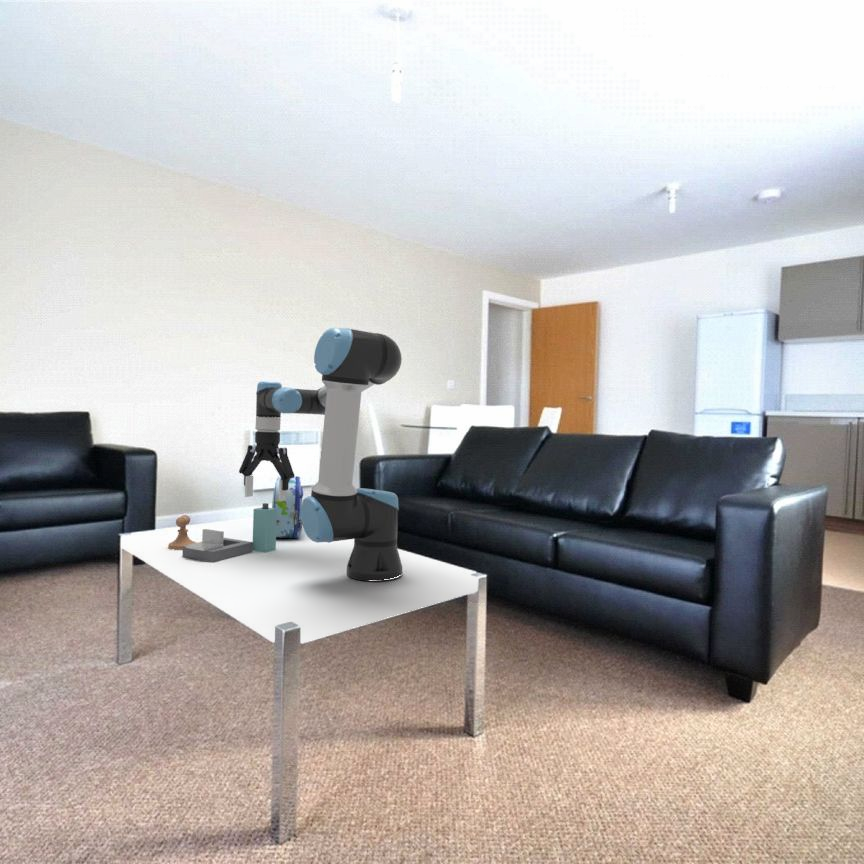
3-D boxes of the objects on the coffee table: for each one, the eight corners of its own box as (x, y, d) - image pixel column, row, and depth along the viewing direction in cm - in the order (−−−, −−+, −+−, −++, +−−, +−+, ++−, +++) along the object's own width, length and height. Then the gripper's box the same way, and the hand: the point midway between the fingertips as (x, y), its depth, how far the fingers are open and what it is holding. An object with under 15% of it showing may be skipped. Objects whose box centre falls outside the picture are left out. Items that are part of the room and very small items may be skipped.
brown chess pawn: (199, 514, 187) (193, 518, 179) (199, 544, 187) (192, 550, 179) (173, 513, 186) (165, 518, 178) (173, 544, 186) (164, 549, 178)
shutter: (223, 546, 172) (223, 531, 172) (204, 551, 165) (204, 535, 165) (205, 543, 175) (205, 528, 175) (185, 547, 168) (186, 532, 168)
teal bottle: (275, 549, 184) (277, 503, 184) (264, 552, 179) (266, 505, 179) (263, 547, 186) (264, 502, 186) (252, 550, 182) (253, 503, 181)
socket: (252, 551, 180) (252, 542, 179) (212, 562, 165) (213, 551, 165) (223, 546, 185) (223, 537, 185) (182, 556, 170) (182, 546, 170)
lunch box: (302, 541, 198) (304, 479, 197) (269, 541, 195) (271, 479, 195) (300, 527, 223) (302, 472, 223) (271, 527, 220) (273, 472, 220)
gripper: (307, 433, 180) (304, 501, 181) (246, 429, 191) (243, 493, 191) (291, 433, 173) (289, 504, 174) (229, 429, 184) (226, 495, 185)
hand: (265, 498), depth 183 cm, fingers open, 13 cm apart
